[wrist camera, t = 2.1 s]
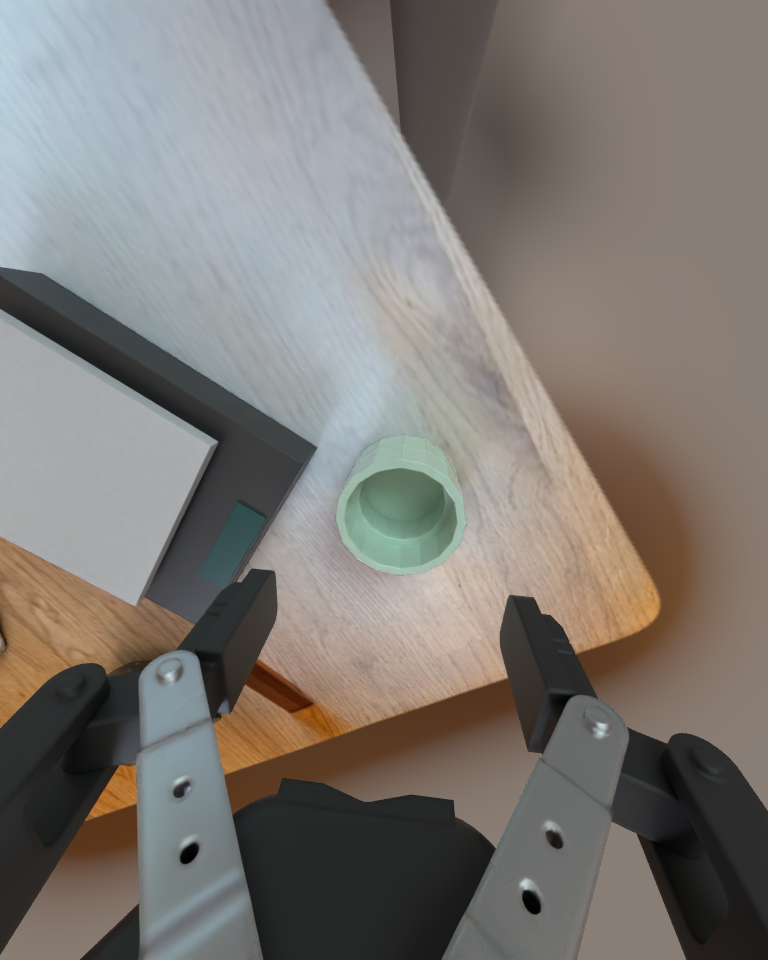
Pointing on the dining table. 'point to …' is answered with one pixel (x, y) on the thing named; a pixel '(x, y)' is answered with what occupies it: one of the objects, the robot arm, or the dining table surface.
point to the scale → (129, 455)
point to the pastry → (2, 644)
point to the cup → (401, 506)
